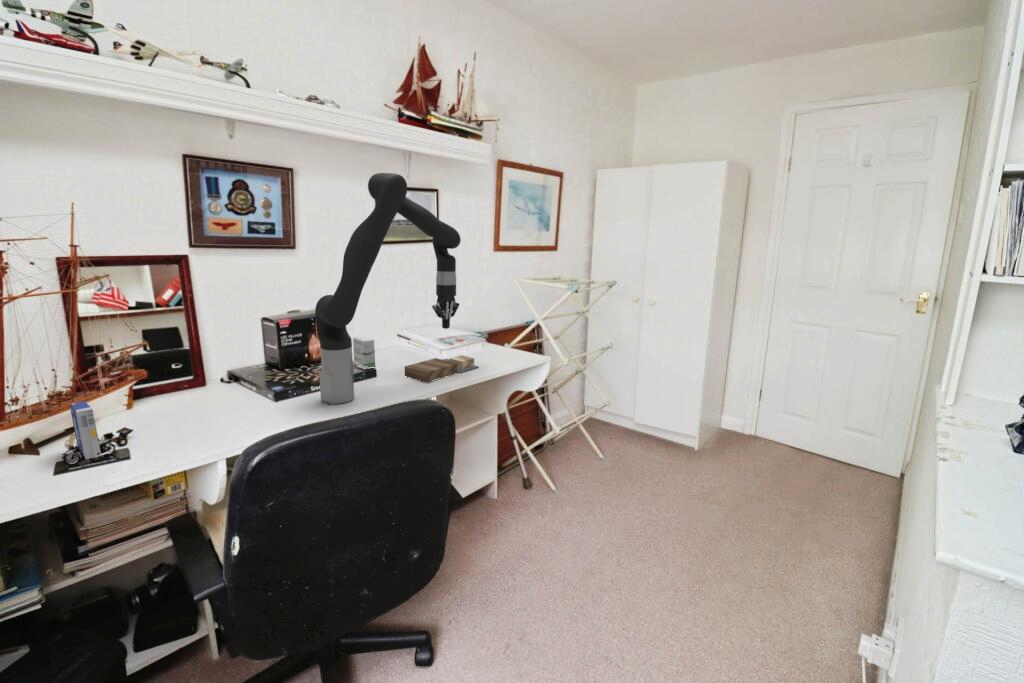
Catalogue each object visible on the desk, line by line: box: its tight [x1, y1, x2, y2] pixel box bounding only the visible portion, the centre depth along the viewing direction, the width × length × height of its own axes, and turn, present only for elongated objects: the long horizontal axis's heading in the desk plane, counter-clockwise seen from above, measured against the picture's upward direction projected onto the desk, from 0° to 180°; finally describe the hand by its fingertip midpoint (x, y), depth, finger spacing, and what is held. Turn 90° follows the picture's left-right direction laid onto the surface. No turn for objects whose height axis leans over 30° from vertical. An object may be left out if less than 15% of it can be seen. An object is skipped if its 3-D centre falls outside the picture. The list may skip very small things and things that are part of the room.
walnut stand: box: [404, 357, 459, 383], centre depth 180 cm, size 16×12×4 cm
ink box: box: [352, 336, 376, 368], centre depth 187 cm, size 9×5×12 cm, turn 46°
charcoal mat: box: [443, 358, 480, 374], centre depth 193 cm, size 11×18×1 cm, turn 54°
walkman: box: [69, 401, 102, 461], centre depth 111 cm, size 8×3×12 cm, turn 52°
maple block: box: [449, 354, 475, 369], centre depth 192 cm, size 7×7×3 cm
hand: (446, 328), depth 183 cm, fingers closed
